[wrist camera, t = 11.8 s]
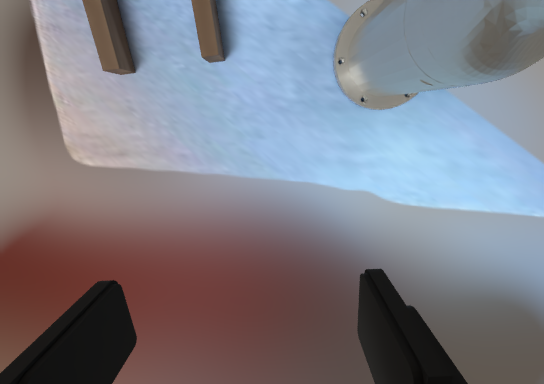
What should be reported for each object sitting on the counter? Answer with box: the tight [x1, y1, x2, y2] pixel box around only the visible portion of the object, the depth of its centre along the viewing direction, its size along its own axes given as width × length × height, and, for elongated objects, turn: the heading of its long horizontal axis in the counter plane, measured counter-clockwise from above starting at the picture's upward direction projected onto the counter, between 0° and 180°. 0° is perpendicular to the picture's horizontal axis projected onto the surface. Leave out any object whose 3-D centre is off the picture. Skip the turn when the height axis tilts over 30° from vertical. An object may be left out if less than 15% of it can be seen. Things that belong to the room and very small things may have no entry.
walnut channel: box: [82, 0, 225, 75], centre depth 29 cm, size 14×10×4 cm
